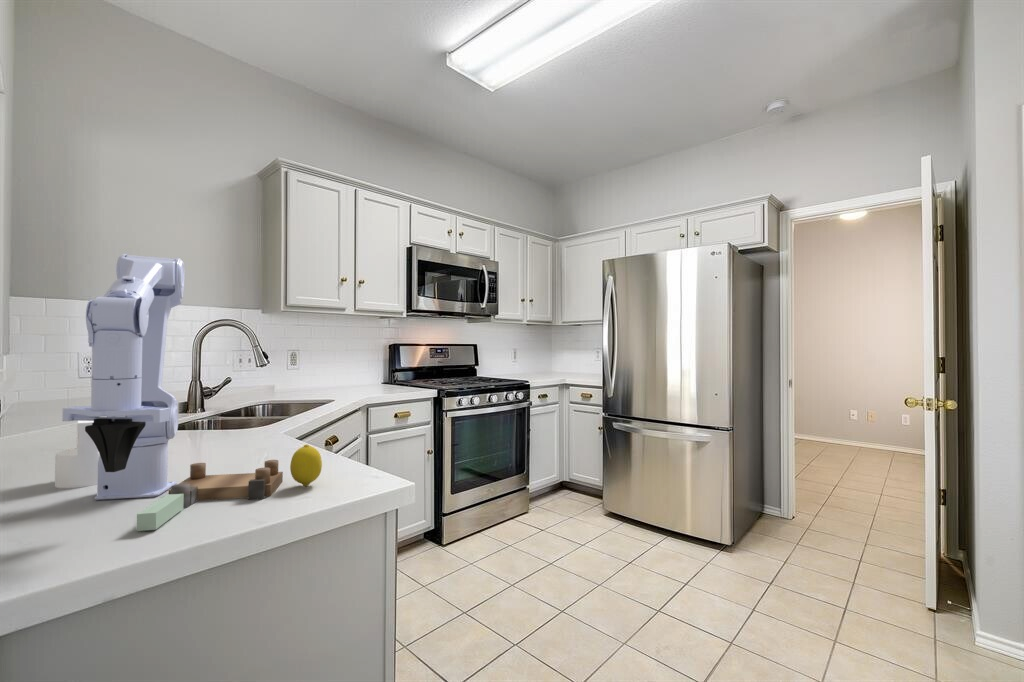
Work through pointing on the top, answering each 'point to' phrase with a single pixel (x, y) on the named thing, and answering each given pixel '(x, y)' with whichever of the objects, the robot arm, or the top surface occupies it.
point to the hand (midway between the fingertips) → (115, 470)
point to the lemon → (306, 465)
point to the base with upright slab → (78, 462)
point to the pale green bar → (159, 512)
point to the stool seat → (228, 484)
